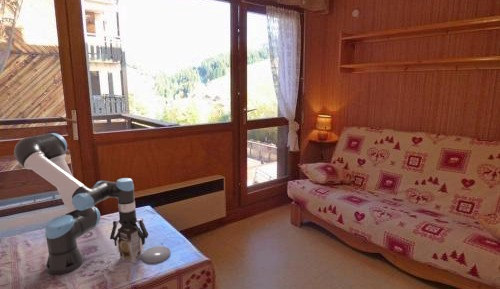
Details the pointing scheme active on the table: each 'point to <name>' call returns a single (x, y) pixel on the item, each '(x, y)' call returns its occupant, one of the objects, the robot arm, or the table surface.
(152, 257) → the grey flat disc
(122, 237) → the coffee box
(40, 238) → the table surface
